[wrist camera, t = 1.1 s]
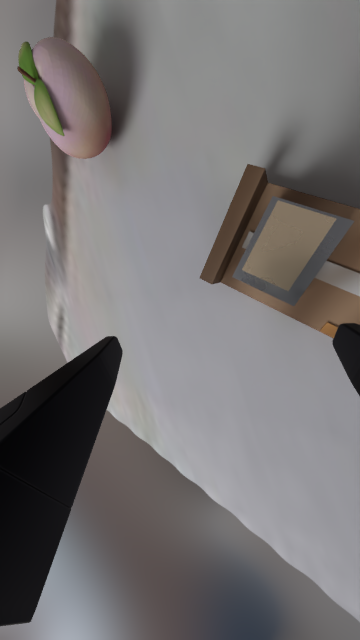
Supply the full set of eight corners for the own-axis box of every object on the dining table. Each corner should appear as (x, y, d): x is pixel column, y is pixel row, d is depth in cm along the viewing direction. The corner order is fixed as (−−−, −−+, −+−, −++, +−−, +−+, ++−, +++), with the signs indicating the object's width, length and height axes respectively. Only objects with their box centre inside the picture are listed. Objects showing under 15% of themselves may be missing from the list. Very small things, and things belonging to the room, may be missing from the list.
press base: (568, 276, 12) (695, 281, 8) (427, 381, 17) (469, 415, 13) (255, 184, 19) (247, 163, 15) (213, 275, 23) (199, 278, 20)
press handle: (345, 226, 15) (397, 193, 8) (292, 301, 18) (298, 325, 11) (274, 204, 17) (266, 160, 10) (237, 275, 20) (211, 281, 13)
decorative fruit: (143, 129, 23) (61, 50, 15) (109, 185, 27) (31, 149, 19) (105, 67, 23) (3, -44, 15) (77, 132, 28) (-13, 74, 19)
